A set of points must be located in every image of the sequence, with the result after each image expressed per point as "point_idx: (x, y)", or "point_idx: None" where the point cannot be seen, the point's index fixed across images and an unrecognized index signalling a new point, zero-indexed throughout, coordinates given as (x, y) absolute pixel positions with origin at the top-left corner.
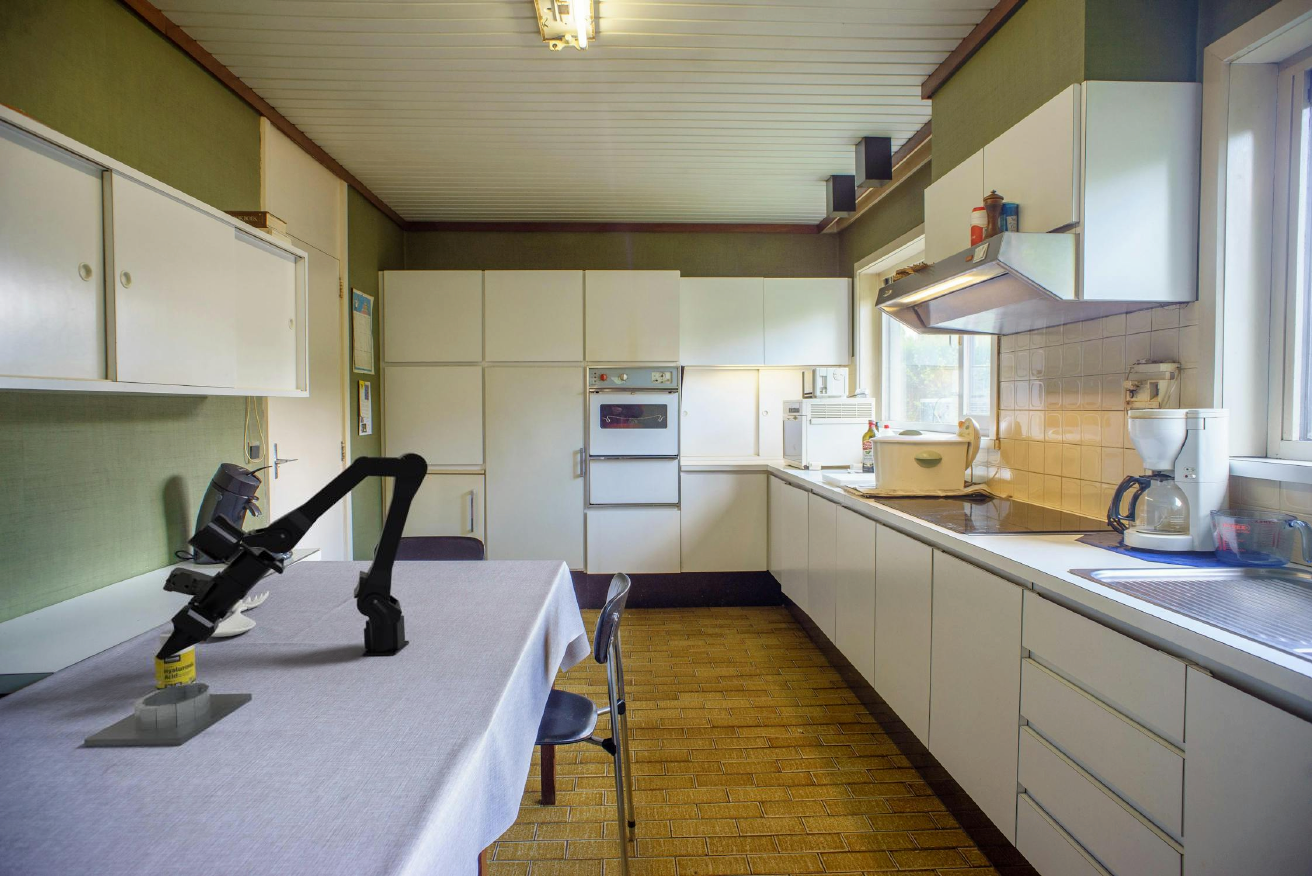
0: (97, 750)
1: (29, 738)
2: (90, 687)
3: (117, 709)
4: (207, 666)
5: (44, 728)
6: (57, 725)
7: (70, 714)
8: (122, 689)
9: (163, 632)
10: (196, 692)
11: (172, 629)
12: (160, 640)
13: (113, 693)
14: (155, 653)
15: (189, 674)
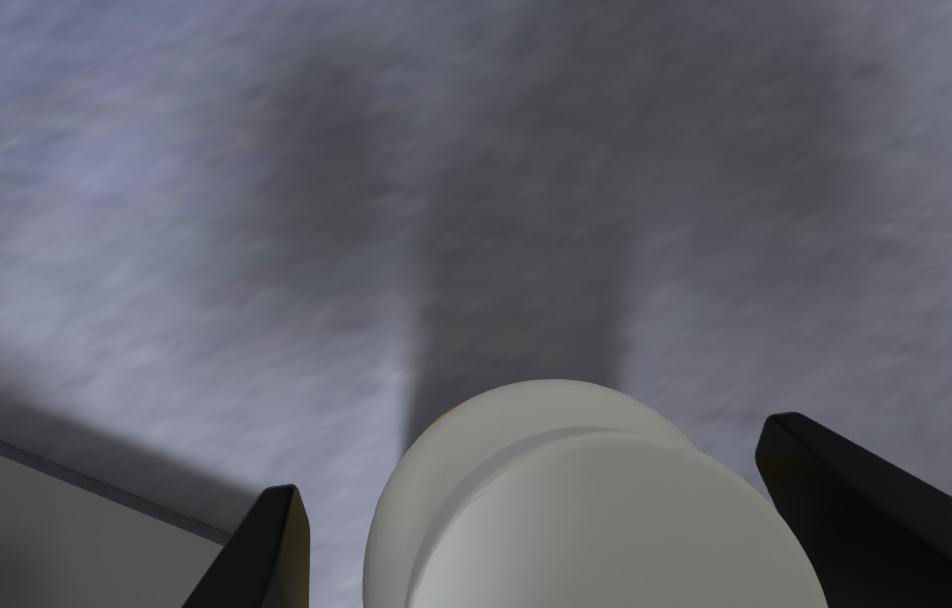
0: None
1: (71, 19)
2: (709, 9)
3: (278, 281)
4: None
5: (179, 30)
6: (188, 72)
7: (326, 70)
8: (611, 181)
9: (658, 469)
10: None
11: (802, 560)
12: (463, 483)
13: (563, 159)
14: (448, 415)
15: None
